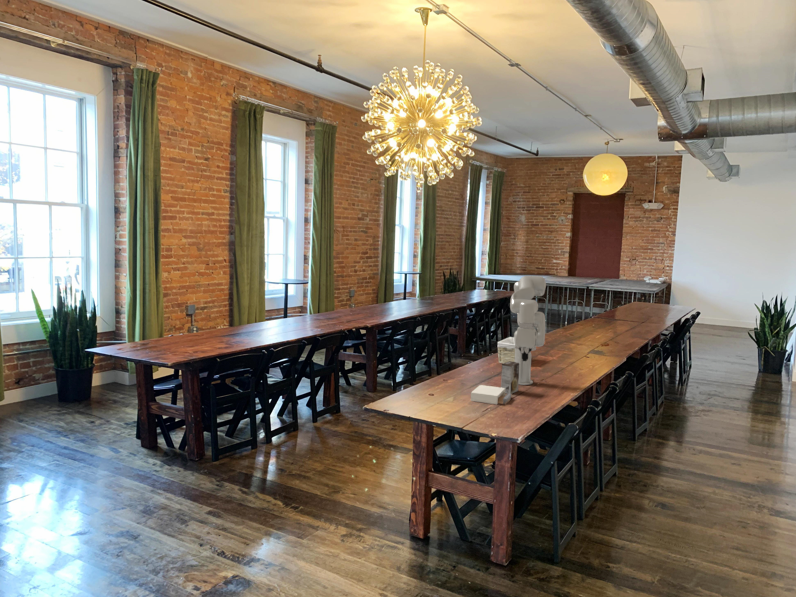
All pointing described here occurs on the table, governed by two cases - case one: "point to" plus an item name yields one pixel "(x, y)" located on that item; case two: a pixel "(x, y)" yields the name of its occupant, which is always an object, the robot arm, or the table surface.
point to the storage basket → (506, 350)
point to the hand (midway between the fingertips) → (524, 360)
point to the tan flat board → (504, 399)
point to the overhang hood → (487, 394)
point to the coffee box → (510, 377)
